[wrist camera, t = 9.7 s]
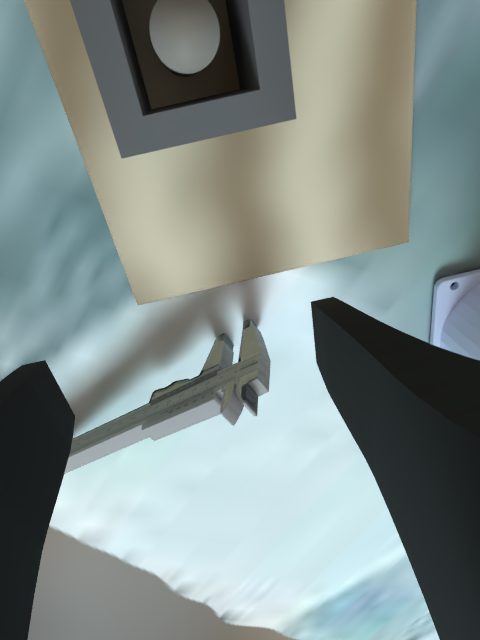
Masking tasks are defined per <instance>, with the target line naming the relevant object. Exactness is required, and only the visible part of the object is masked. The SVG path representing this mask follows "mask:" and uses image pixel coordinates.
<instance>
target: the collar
mask: <svg viewBox="0 0 480 640" xmlns="http://www.w3.org/2000/svg"><path fill="white" fill-rule="evenodd" d="M70 2H71V5H72V8H73V11H74V15H75V18H76V21H77V24H78V27H79V30H80V33H81V36H82V39H83V42H84V45H85V48H86V51H87V54H88V57H89V60H90V64H91V67H92V70H93V73H94V76H95V79H96V82H97V85H98V88H99V91H100V94H101V97H102V100H103V103H104V106H105V109H106V113H107V116H108V119H109V122H110V125H111V128H112V131H113V134H114V137H115V140H116V143H117V146H118V149H119V152H120V155H121V158H122V159H123V158H127V157H131V156H136V155H140V154H145V153H149V152H153V151H158V150H162V149H167V148H171V147H175V146H180V145H184V144H188V143H193V142H197V141H202V140H206V139H210V138H215V137H219V136H224V135H228V134H232V133H237V132H241V131H246V130H250V129H254V128H259V127H263V126H268V125H272V124H276V123H281V122H285V121H290V120H294V119H296V109H295V100H294V90H293V80H292V71H291V61H290V52H289V42H288V33H287V23H286V14H285V4H284V0H226V7H227V13H228V19H229V25H230V31H231V37H232V43H233V49H234V55H235V61H236V67H237V73H238V79H239V85H240V89H239V90H235V91H230V92H226V93H221V94H217V95H212V96H208V97H203V98H199V99H195V100H190V101H186V102H181V103H177V104H172V105H168V106H164V107H159V108H155V109H151V106H150V102H149V98H148V95H147V91H146V87H145V84H144V80H143V76H142V73H141V69H140V65H139V62H138V58H137V54H136V51H135V47H134V43H133V40H132V36H131V32H130V29H129V25H128V21H127V18H126V14H125V10H124V7H123V3H122V0H70Z"/></svg>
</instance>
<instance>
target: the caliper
mask: <svg viewBox="0 0 480 640" xmlns="http://www.w3.org/2000/svg"><path fill="white" fill-rule="evenodd" d="M233 346H234V345H233V344H232V343H231V341H230V340H229V339H228V338H227V337H226V335H225V334H223V335H221V336H219V337H218V338H217V339H216V340H215V343H214V345H213V347H212V349H211V351H210V353H209V356H208V358H207V360H206V362H205V364H204V366H203V369H202V371H201V373H200V375H199V376H197V377H194V378H192V379H190V380H189V379H184V380H179V381H175V382H173V383H172V384H170V385H169V386H167V387H165V388H161V389H158V390H155V391H154V392H153V393H152V396H151V399H150V401H149V403H148V404H146V405H144V406H142V407H139V408H137V409H135V410H133V411H131V412H129V413H127V414H125V415H122V416H120V417H118V418H116V419H114V420H112V421H110V422H108V423H105V424H103V425H101V426H99V427H97V428H95V429H93V430H90V431H88V432H86V433H84V434H82V435H80V436H78V437H76V438H73V439H72V444H71V451H70V454H69V458H68V462H67V465H66V469H65V472H64V474H65V473H67V472H70V471H72V470H74V469H76V468H79V467H81V466H83V465H86V464H88V463H90V462H93V461H95V460H97V459H100V458H102V457H104V456H107V455H109V454H111V453H114V452H116V451H118V450H121V449H123V448H125V447H127V446H130V445H132V444H134V443H137V442H139V441H141V440H144V439H146V438H148V437H150V438H151V439H153V440H154V441H155V440H158V439H160V438H163V437H165V436H168V435H170V434H173V433H175V432H177V431H180V430H182V429H185V428H187V427H190V426H192V425H195V424H197V423H199V422H202V421H204V420H207V419H209V418H212V417H214V416H217V415H219V414H222V415H223V416H224V417H225V418H226V419H227V420H228V421H229V422H230V423H231V424H232V425H233V426H234V424H235V423H236V422H237V420H238V418H239V416H240V414H241V412H242V410H243V407H244V406H245V407H246V408H247V409H248V410H249V411H250V412H251V413H252V414H253V416H257V406H258V396H260V395H263V394H265V393H267V392H269V378H270V358H269V355H268V352H267V349H266V346H265V343H264V340H263V337H262V335H261V332H260V331H259V330H258V328H257V327H256V326H255V324H254V323H253V322H252V320H247V321H244V322H243V331H242V339H241V346H240V353H239V361H238V363H235V364H233V365H232V362H233V353H234V352H233Z"/></svg>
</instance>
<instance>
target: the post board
mask: <svg viewBox="0 0 480 640" xmlns="http://www.w3.org/2000/svg"><path fill="white" fill-rule="evenodd" d="M24 2H25V5H26V8H27V10H28V13H29V16H30V18H31V21H32V24H33V26H34V29H35V32H36V34H37V37H38V40H39V42H40V45H41V48H42V50H43V53H44V56H45V58H46V61H47V64H48V66H49V69H50V72H51V74H52V77H53V80H54V82H55V85H56V88H57V90H58V93H59V96H60V99H61V101H62V104H63V107H64V109H65V112H66V115H67V117H68V120H69V123H70V125H71V128H72V131H73V133H74V136H75V139H76V141H77V144H78V147H79V149H80V152H81V155H82V157H83V160H84V163H85V165H86V168H87V171H88V173H89V176H90V179H91V181H92V184H93V187H94V189H95V192H96V195H97V197H98V200H99V203H100V205H101V208H102V211H103V214H104V216H105V219H106V222H107V224H108V227H109V230H110V232H111V235H112V238H113V240H114V243H115V246H116V248H117V251H118V254H119V256H120V259H121V262H122V264H123V267H124V270H125V272H126V275H127V278H128V280H129V283H130V286H131V288H132V291H133V294H134V296H135V299H136V302H137V304H138V305H142V304H146V303H151V302H155V301H159V300H163V299H168V298H172V297H176V296H181V295H185V294H189V293H193V292H198V291H202V290H206V289H210V288H215V287H219V286H223V285H228V284H232V283H236V282H240V281H245V280H249V279H253V278H257V277H262V276H266V275H270V274H275V273H279V272H283V271H287V270H292V269H296V268H300V267H304V266H309V265H313V264H317V263H322V262H326V261H330V260H334V259H339V258H343V257H347V256H351V255H356V254H360V253H364V252H369V251H373V250H377V249H381V248H386V247H390V246H394V245H398V244H403V243H407V242H409V212H410V181H411V151H412V120H413V90H414V59H415V28H416V0H284V4H285V14H286V23H287V33H288V42H289V52H290V61H291V71H292V80H293V90H294V100H295V109H296V119H294V120H290V121H285V122H281V123H276V124H272V125H268V126H263V127H259V128H254V129H250V130H246V131H241V132H237V133H232V134H228V135H224V136H219V137H215V138H210V139H206V140H202V141H197V142H193V143H188V144H184V145H180V146H175V147H171V148H167V149H162V150H158V151H153V152H149V153H145V154H140V155H136V156H131V157H127V158H123V159H122V158H121V155H120V152H119V149H118V146H117V143H116V140H115V137H114V134H113V131H112V128H111V125H110V122H109V119H108V116H107V113H106V109H105V106H104V103H103V100H102V97H101V94H100V91H99V88H98V85H97V82H96V79H95V76H94V73H93V70H92V67H91V64H90V60H89V57H88V54H87V51H86V48H85V45H84V42H83V39H82V36H81V33H80V30H79V27H78V24H77V21H76V18H75V15H74V11H73V8H72V5H71V2H70V0H24ZM122 3H123V7H124V10H125V14H126V18H127V21H128V25H129V29H130V32H131V36H132V40H133V43H134V47H135V51H136V54H137V58H138V62H139V65H140V69H141V73H142V76H143V80H144V84H145V87H146V91H147V95H148V98H149V102H150V106H151V109H155V108H159V107H164V106H168V105H172V104H177V103H181V102H186V101H190V100H195V99H199V98H203V97H208V96H212V95H217V94H221V93H226V92H230V91H235V90H239V89H240V85H239V79H238V73H237V67H236V61H235V55H234V49H233V43H232V37H231V31H230V25H229V19H228V13H227V7H226V0H122Z"/></svg>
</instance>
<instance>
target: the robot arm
mask: <svg viewBox="0 0 480 640" xmlns="http://www.w3.org/2000/svg"><path fill="white" fill-rule="evenodd" d="M454 282H455V284H454V285H453V286H452V287H450V286H451V284H452V283H454ZM311 308H312V318H313V329H314V340H315V351H316V361H317V365H318V367H319V370H320V372H321V375H322V378H323V380H324V383H325V385H326V388H327V390H328V392H329V394H330V396H331V398H332V400H333V402H334V403H335V405H336V407H337V409H338V411H339V413H340V414H341V416H342V418H343V420H344V421H345V423H346V425H347V427H348V429H349V430H350V432H351V434H352V436H353V438H354V439H355V441H356V443H357V445H358V446H359V448H360V450H361V452H362V454H363V455H364V457H365V459H366V461H367V463H368V465H369V467H370V469H371V471H372V473H373V475H374V477H375V479H376V482H377V484H378V486H379V489H380V491H381V493H382V496H383V498H384V500H385V503H386V505H387V507H388V509H389V512H390V514H391V517H392V519H393V522H394V524H395V526H396V529H397V531H398V534H399V536H400V538H401V541H402V543H403V546H404V548H405V550H406V553H407V556H408V558H409V561H410V563H411V566H412V568H413V571H414V573H415V576H416V578H417V581H418V583H419V586H420V588H421V591H422V593H423V596H424V599H425V601H426V604H427V606H428V609H429V612H430V614H431V617H432V620H433V622H434V625H435V628H436V630H437V633H438V636H439V638H440V640H480V269H478V270H473V271H469V272H465V273H461V274H457V275H452V276H448V277H444V278H441V279H439V280H438V281H437V282H436V284H435V286H434V295H433V309H432V323H431V337H430V344H429V343H427V342H424V341H422V340H420V339H417V338H415V337H413V336H410V335H408V334H406V333H403V332H401V331H399V330H397V329H395V328H393V327H391V326H388V325H386V324H384V323H382V322H380V321H378V320H376V319H375V318H373V317H371V316H369V315H367V314H365V313H363V312H361V311H359V310H357V309H356V308H354V307H352V306H350V305H348V304H346V303H344V302H343V301H341V300H339V299H337V298H334V297H331V298H326V299H322V300H317V301H312V302H311ZM74 421H75V415H74V413H73V411H72V410H71V408H70V406H69V404H68V402H67V400H66V398H65V397H64V395H63V393H62V391H61V389H60V387H59V385H58V384H57V382H56V380H55V378H54V376H53V374H52V372H51V371H50V369H49V367H48V365H47V363H46V361H45V360H44V361H40V362H35V363H30V364H26V365H22V366H20V367H19V368H18V369H16V370H15V371H13V372H12V373H11V374H9V375H8V376H7V377H5V378H4V379H3V380H2V381H1V382H0V640H27V638H28V632H29V625H30V619H31V612H32V605H33V599H34V593H35V587H36V582H37V576H38V571H39V565H40V560H41V555H42V550H43V545H44V542H45V538H46V534H47V530H48V527H49V523H50V520H51V517H52V513H53V510H54V506H55V503H56V500H57V496H58V493H59V489H60V486H61V483H62V479H63V476H64V472H65V469H66V465H67V462H68V458H69V454H70V451H71V444H72V438H73V430H74Z"/></svg>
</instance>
